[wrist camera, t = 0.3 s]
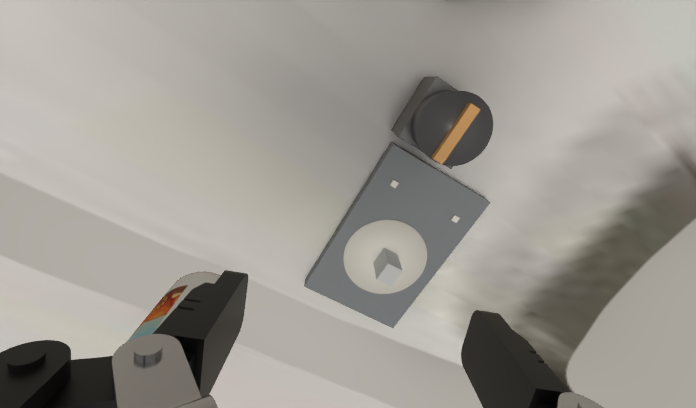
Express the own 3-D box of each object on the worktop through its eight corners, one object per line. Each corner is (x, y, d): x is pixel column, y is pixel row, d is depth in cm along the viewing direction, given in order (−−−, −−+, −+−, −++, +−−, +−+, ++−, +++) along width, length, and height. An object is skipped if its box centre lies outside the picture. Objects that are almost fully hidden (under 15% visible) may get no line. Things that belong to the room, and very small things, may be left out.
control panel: (391, 142, 30) (399, 151, 26) (485, 198, 32) (506, 215, 28) (305, 279, 35) (300, 306, 31) (391, 320, 37) (397, 350, 33)
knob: (424, 77, 28) (451, 75, 21) (471, 108, 29) (512, 117, 22) (391, 130, 30) (406, 144, 23) (437, 158, 31) (465, 180, 24)
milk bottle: (225, 260, 34) (85, 476, 16) (255, 317, 37) (166, 562, 18) (158, 280, 35) (-53, 511, 16) (192, 335, 38) (45, 588, 19)
